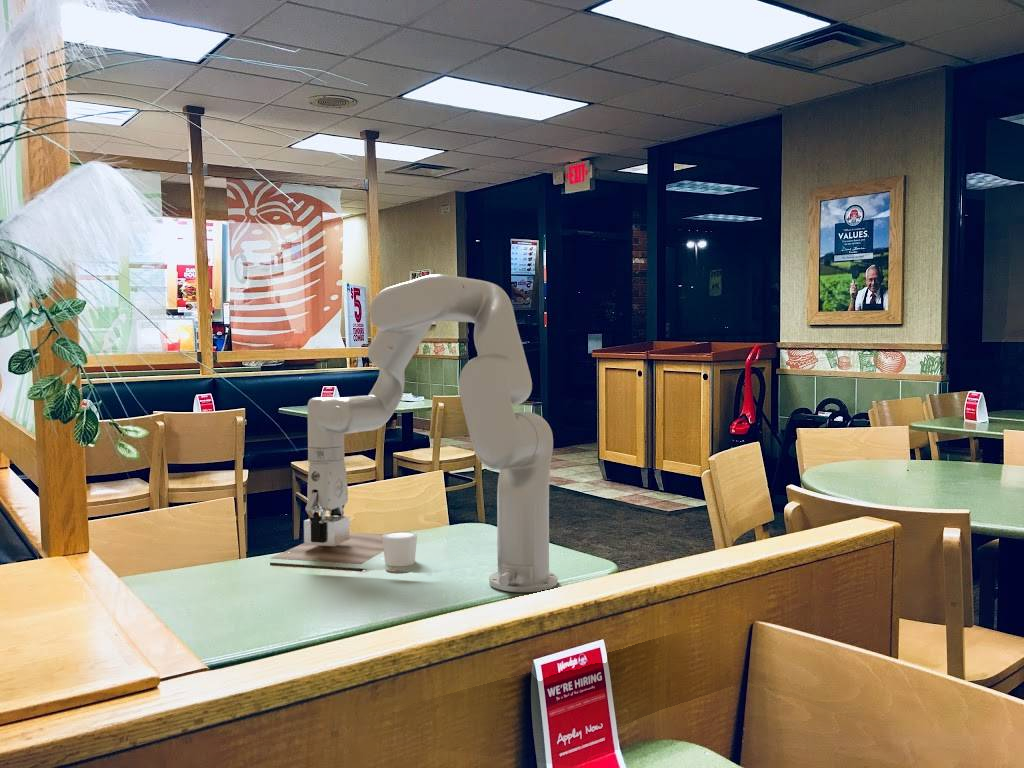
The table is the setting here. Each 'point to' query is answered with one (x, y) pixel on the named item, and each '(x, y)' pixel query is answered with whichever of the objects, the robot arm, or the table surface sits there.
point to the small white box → (330, 530)
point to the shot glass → (399, 549)
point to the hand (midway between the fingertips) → (327, 537)
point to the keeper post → (326, 547)
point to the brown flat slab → (336, 552)
